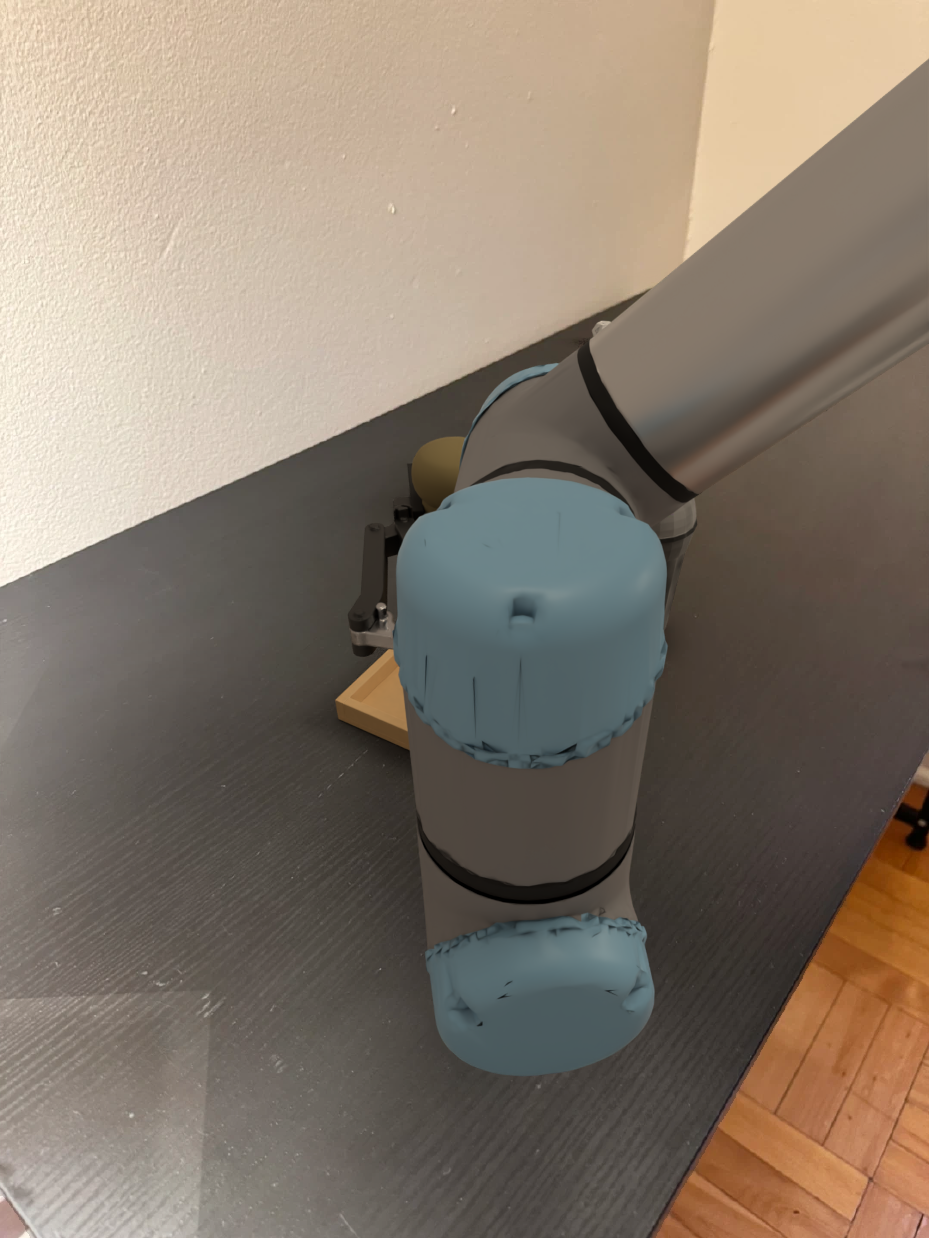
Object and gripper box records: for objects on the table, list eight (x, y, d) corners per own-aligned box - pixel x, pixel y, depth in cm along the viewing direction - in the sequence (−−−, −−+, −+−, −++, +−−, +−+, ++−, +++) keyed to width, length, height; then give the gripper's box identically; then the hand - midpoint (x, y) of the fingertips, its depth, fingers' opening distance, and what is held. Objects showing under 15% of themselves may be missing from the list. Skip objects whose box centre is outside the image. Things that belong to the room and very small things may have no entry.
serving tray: (575, 675, 68) (576, 656, 67) (490, 786, 59) (490, 766, 58) (434, 624, 74) (433, 606, 73) (338, 719, 65) (334, 699, 64)
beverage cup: (599, 664, 69) (619, 438, 57) (586, 611, 75) (601, 396, 63) (688, 660, 69) (726, 434, 57) (668, 608, 75) (699, 392, 63)
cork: (408, 575, 59) (396, 430, 53) (492, 565, 60) (491, 420, 53) (421, 627, 55) (409, 474, 48) (512, 614, 55) (513, 462, 49)
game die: (620, 343, 129) (621, 323, 127) (601, 348, 127) (602, 328, 125) (605, 337, 131) (606, 317, 129) (586, 342, 130) (587, 322, 128)
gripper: (318, 784, 41) (330, 534, 60) (660, 750, 42) (567, 516, 61) (295, 667, 37) (316, 436, 55) (678, 633, 38) (572, 418, 56)
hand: (448, 478), depth 58 cm, fingers closed on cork, 4 cm apart
